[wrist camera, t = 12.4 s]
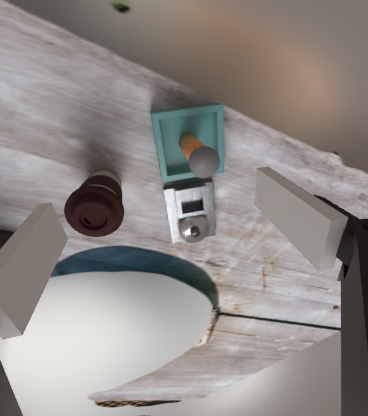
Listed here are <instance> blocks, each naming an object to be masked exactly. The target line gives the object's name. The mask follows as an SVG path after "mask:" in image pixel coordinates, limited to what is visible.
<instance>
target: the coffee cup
mask: <svg viewBox="0 0 368 416" xmlns="http://www.w3.org/2000/svg"><path fill="white" fill-rule="evenodd" d="M64 214H65V217H66V220H67V222H68V223H69V224H70V226H71V227H72V228H73V229H75V230H76V231H78V232H79V233H81V234H84V235H87V236H92V237H101V236H106V235H109V234H111V233H113V232H114V231H116V230H117V229H118V228H119V226H120V225H121V223H122V221H123V217H124V207H123V204H122V190H121V182H120V180H119V179H118V177H117V176H116V175H114V174H113V173H111V172H108V171H98V172H95V173H94V174H92V175H91V176H90V177H89V178H88V179H87V180H86V181H85V182H84V183H83V184H82V185H81V187H80V188H79V189H77V190H76V191H74V192H73V193H72V194H71V195H70V197H69V198H68V200H67V201H66V204H65V208H64Z"/></svg>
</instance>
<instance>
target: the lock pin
mask: <svg viewBox="0 0 368 416" xmlns="http://www.w3.org/2000/svg"><path fill="white" fill-rule="evenodd" d="M179 147H180V149H181V150H182V152H183V153H184V155H185V156H186V158H187V159H188V161H189V168H190V170H191V171H192V173H193V174H194V175H195V176H197V177H199V178H207V177H210V176H212V175H213V174H215V173H216V171H217V170H218V168H219V165H220V157H219V155H218V153H217V152H216V151H215V150H214V149H213V148H211V147H208V146H205V145H204V144H203V143H201V142H200V141H199V140H198V139H197V138H196V137H195V136H194V135H193V134H190V133H186V134H183V135H182V136H181V137H180V139H179Z"/></svg>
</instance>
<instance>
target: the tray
mask: <svg viewBox="0 0 368 416" xmlns="http://www.w3.org/2000/svg"><path fill="white" fill-rule="evenodd" d="M151 118H152V124H153V130H154V136H155V142H156V148H157V154H158V160H159V166H160V172H161V177H162V182H168V181H174V180H180V179H186V178H192V177H197V176H195V175H194V174H193V173H192V171H191V170H190V168H189V161H188V159H187V158H186V156H185V155H184V153H183V152H182V150H181V149H180V147H179V139H180V137H181V136H182V135H183V134H186V133H190V134H193V135H194V136H195V137H196V138H197V139H198V140H199V141H200V142H201V143H203V144H204V145H205V146H208V147H211V148H213V149H214V150H215V151H216V152H217V153H218V155H219V157H220V165H219V168H218V170H217V171H216V173H222V172H224V136H223V104H220V103H212V104H205V105H197V106H190V107H183V108H175V109H168V110H160V111H153V112H151ZM216 173H215V174H216Z"/></svg>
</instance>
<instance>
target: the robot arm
mask: <svg viewBox="0 0 368 416" xmlns="http://www.w3.org/2000/svg"><path fill="white" fill-rule="evenodd" d="M255 205H256V206H257V207H258V208H259V209H260V210H261V212H262V213H263V214H264V215H265V216H266V217H267V218H268V219H269V220H270V221H271V222H272V223H273V224H274V225H275V226H276V227H277V228H278V229H279V230H280V231H281V232H282V233H283V234H284V235H285V236H286V238H287V239H288V240H289V241H290V242H291V243H292V244H293V245H294V246H295V247H296V248H297V249H298V250H299V251H300V252H301V253H302V254H303V255H304V256H305V257H306V258H307V259H308V260H309V261H310V262H311V263H312V265H313V266H314V267H315V268H316V269H317V270H322V269H327V268H331V267H333V266H334V263H335V260H336V257H337V258H338V259H339V260H341V261H342V262H343V264H342V267H341V270H340V273H339V276H338V279H337V281H340V280H341V414H342V415H341V416H368V219H359V218H357V217H355V216H354V215H352V214H350V213H349V212H347V211H345V210H344V209H342V208H339V206H337V205H335V204H333V203H332V202H331V201H329V200H327V199H326V198H323V197H320V196H317V195H312V194H310V193H309V192H307V191H306V190H304V189H302V188H301V187H299V186H298V185H296V184H295V183H293V182H291V181H290V180H288V179H287V178H285V177H284V176H282V175H280V174H279V173H277V172H276V171H274V170H273V169H271V168H269V167H263V168H257V178H256V195H255ZM67 240H68V238H67V235H66V233H65V231H64V229H63V227H62V225H61V222H60V220H59V218H58V216H57V214H56V211H55V209H54V207H53V205H52V203H47V204H41V205H38V206H37V207H36V208H35V209H34V211H33V212H32V213H31V214H30V215H29V216H28V218H27V219H26V220H25V221H24V222H23V223H22V225H21V226H20V227H19V228H18V229H17V230H16V232H15V233H12V232H8V231H0V337H1V338H2V339H6V338H11V337H16V336H20V335H23V333H24V331H25V329H26V326H27V324H28V322H29V320H30V318H31V316H32V314H33V312H34V309H35V307H36V305H37V303H38V301H39V299H40V297H41V294H42V293H43V291H44V288H45V286H46V284H47V282H48V280H49V278H50V276H51V274H52V272H53V270H54V267H55V265H56V263H57V261H58V259H59V257H60V255H61V253H62V251H63V249H64V246H65V244H66V242H67ZM0 416H23V415H22V412H21V410H20V408H19V405H18V403H17V400H16V398H15V395H14V393H13V390H12V388H11V386H10V383H9V381H8V378H7V376H6V373H5V371H4V368H3V366H2V363H1V361H0Z"/></svg>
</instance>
